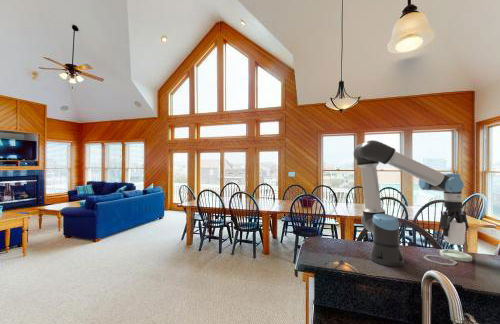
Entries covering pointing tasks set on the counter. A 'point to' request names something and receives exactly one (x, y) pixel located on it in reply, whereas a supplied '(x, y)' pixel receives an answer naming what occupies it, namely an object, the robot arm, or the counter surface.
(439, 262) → the seat ring
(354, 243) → the counter surface
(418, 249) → the counter surface
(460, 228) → the cup
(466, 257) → the pale green flat disc
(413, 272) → the counter surface
